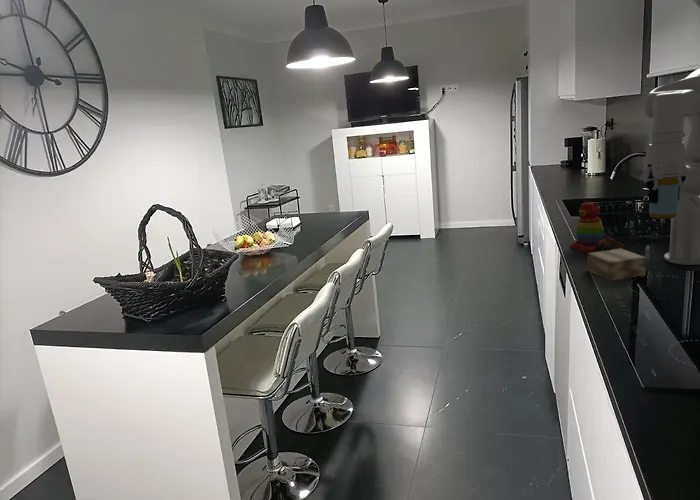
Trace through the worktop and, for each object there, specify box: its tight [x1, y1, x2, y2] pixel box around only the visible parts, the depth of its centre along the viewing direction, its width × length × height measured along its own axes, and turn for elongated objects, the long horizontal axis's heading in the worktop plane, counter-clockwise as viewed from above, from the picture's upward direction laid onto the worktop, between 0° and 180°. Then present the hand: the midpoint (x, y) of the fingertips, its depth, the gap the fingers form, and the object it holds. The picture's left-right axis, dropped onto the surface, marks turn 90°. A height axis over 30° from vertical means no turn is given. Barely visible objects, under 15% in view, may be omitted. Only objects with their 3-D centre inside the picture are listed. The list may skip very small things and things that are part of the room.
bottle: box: [648, 165, 679, 220], centre depth 151 cm, size 7×7×15 cm
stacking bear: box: [569, 201, 604, 254], centre depth 198 cm, size 11×10×18 cm
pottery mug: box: [594, 236, 626, 252], centre depth 186 cm, size 12×10×8 cm
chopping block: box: [586, 248, 647, 281], centre depth 170 cm, size 12×12×6 cm
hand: (663, 200), depth 152 cm, fingers closed on bottle, 6 cm apart
